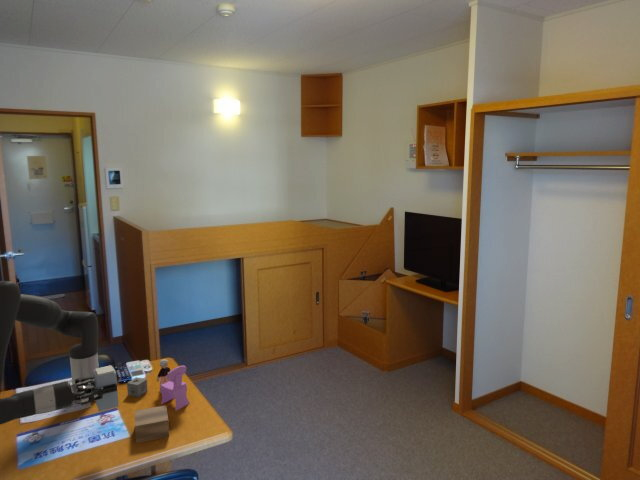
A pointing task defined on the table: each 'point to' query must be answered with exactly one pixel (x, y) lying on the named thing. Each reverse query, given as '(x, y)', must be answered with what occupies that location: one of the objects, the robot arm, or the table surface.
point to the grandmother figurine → (163, 372)
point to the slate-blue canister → (105, 378)
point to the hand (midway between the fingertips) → (114, 383)
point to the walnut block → (151, 424)
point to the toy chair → (175, 388)
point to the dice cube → (137, 387)
